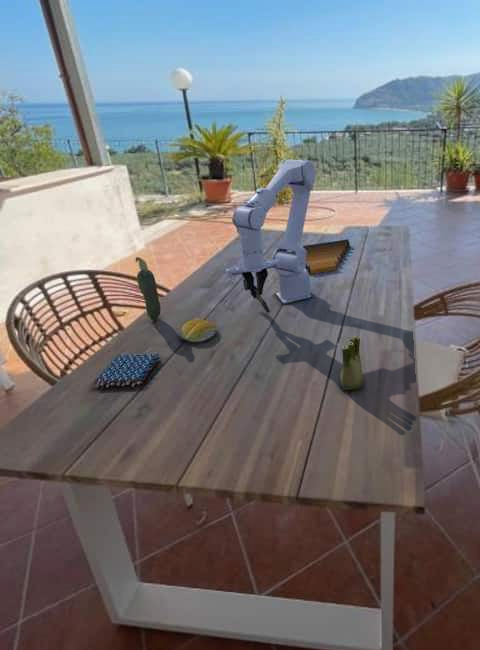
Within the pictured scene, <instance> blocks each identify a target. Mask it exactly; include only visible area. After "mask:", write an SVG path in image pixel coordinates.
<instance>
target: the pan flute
mask: <svg viewBox="0 0 480 650" xmlns="http://www.w3.org/2000/svg"><path fill="white" fill-rule="evenodd" d="M350 245H351V242H350V240H349V239H348V238H347V239H340V240H335V241H334V240H333V241H326V242H320V243H314V244H306V245H302V246H303V247H304V249H305V250H306V251H307V252H306V267H305V269H306V270H307V272H308V274H309V275H315V274H322V273H326V272H331V271H332V272H333V271H336V269H337V267H338V266H339V263H341V261H342V259H343V258H344V255H346V251H348V248H350ZM292 252H293V253H296V252H295V251H292Z"/></svg>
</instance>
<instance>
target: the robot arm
mask: <svg viewBox="0 0 480 650" xmlns="http://www.w3.org/2000/svg"><path fill="white" fill-rule="evenodd" d="M316 174H317V170H316V168H315V165H314V163H313V162H312V160H299V159H289V158H284V159H282V160H281V161H280V163H279V164H278V165H277V172H276V174H275V175H273V177H272V179H271V180H270V181H269V182H268V184H267V185H266V187H265V188H264V187H260V188H258V189H256V191H255V193H254V194H253V195H252V196H251V198H250V199H249V200H247V202H246V203H245V204H244V205H241V206H238V207H237V208H235V210H234V212H233V215H232V218H231V221H232V225H234V227H235V228H236V233H237V234H238V236H239V238H238V239H239V247H240V252H241V254H240V255H241V262H242V263H241V264H238V265H235V266H231V267H228V268H225V274H226V276H227V278H229V279H230V278H233V277H234V276H239V275H241V276H242V277H243V280H244V279H245V280H246V282H247V284H248V286H249V289H250V290H249V293H250V295H251V297H253V298H254V297H255V289H254V286H255V278H256V287H257V292H258V293H259V294H260V296H263V290H264V286H265V282H266V280H267V278H268V277H269V271H268V270H269V269H276V270H275V272H276V273H277V274H278V286H279V291H278V292H276V293H275V294H276V296H277V297H278V299H279V300H280V302H282V303H283V304H290V303H293V302H297V301H301V300H305V299H309V298H312V295H311V281H310V279H311V278H310V274H309V272H308V271H307V270H306V268H305V267H306V252H307V251H306V250H305V249H304V247H303V246H304V245H302V243H301V242H302V237H303V232H304V228H305V222H306V218H307V217H306V216H307V212H308V208H309V202H310V197H311V191H312V190H313V188H314V184H315V179H316ZM286 186H287V187H288V188H290V189H291V190H292V198H291V201H290V202H291V203H290V208H289V214H288V217H287V222H286V227H285V233H284V237H283V240H282V241H281V242H279V243H278V244H277V245H275V249H274V252H273V254H272V256H271V259H264V249H263V241H262V239H263V238H262V227H263V226H264V224H265V219H266V217H267V213H269V211H270V210H271V209H272V208H273V207H274V205H275V204H276V202H277V198H276V197H277V195H279V193H280V192H281V191H282V190H283V189H285V188H286ZM293 251H295V252H296V253H293ZM253 273H255V277H254V275H253Z"/></svg>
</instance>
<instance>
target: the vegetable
mask: <svg viewBox="0 0 480 650" xmlns="http://www.w3.org/2000/svg"><path fill="white" fill-rule="evenodd" d="M135 263H138V267H139V271H138V272H137V274H136V282H137V285H138V288H139V290H140V293H141V295H142V297H143V300H144V303H145V309H146V315H147V316H148V317H149V319H150V321H154V322H155V321H156V320H158V318H159V317H160V315H161V303H160V298H159V293H158V289H157V282H156V278H155V275H154V273H153V271H152V270H150V269H148V268H149V267H148V264H147V262H146V261H145V260H144V259H143V258H142V257H139V256H136V257H135Z"/></svg>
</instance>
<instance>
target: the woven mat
mask: <svg viewBox="0 0 480 650" xmlns="http://www.w3.org/2000/svg"><path fill="white" fill-rule="evenodd" d="M159 355H160V354H159V353H153V352H152V353H149V354H147V353H146V352H145V353H137V354H135V353H132V354H118V355H116V356H115V357H114V359H113V360H112V361H111V362H110V363H109V364H108V365H107V366H106V367H105V369H104V370H103V371H102V372H101V373H100V374H99V376H98V377H97V378H95V381H94V382H93V383H94V384H96V385H95V386H94V388H96V389H98V388H99V387H100V386H102V387H103V386H105V388H106V389H107V388H109V387H110V386H115V385H116V386H117V387H120V385H121V386H122V387H125V386H126V385H127V386H131V387H132V388H133V387H135V386H136V384H137V385H138V386H139V385H141V384H142V383H143V382H144V381H145V380H146V378H147V377H148V375H149V373H150V372H151V371H152V369H153V368H154V367H155V364H156V363H157V362H158V360H159V359H160V358H161V356H159Z"/></svg>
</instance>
